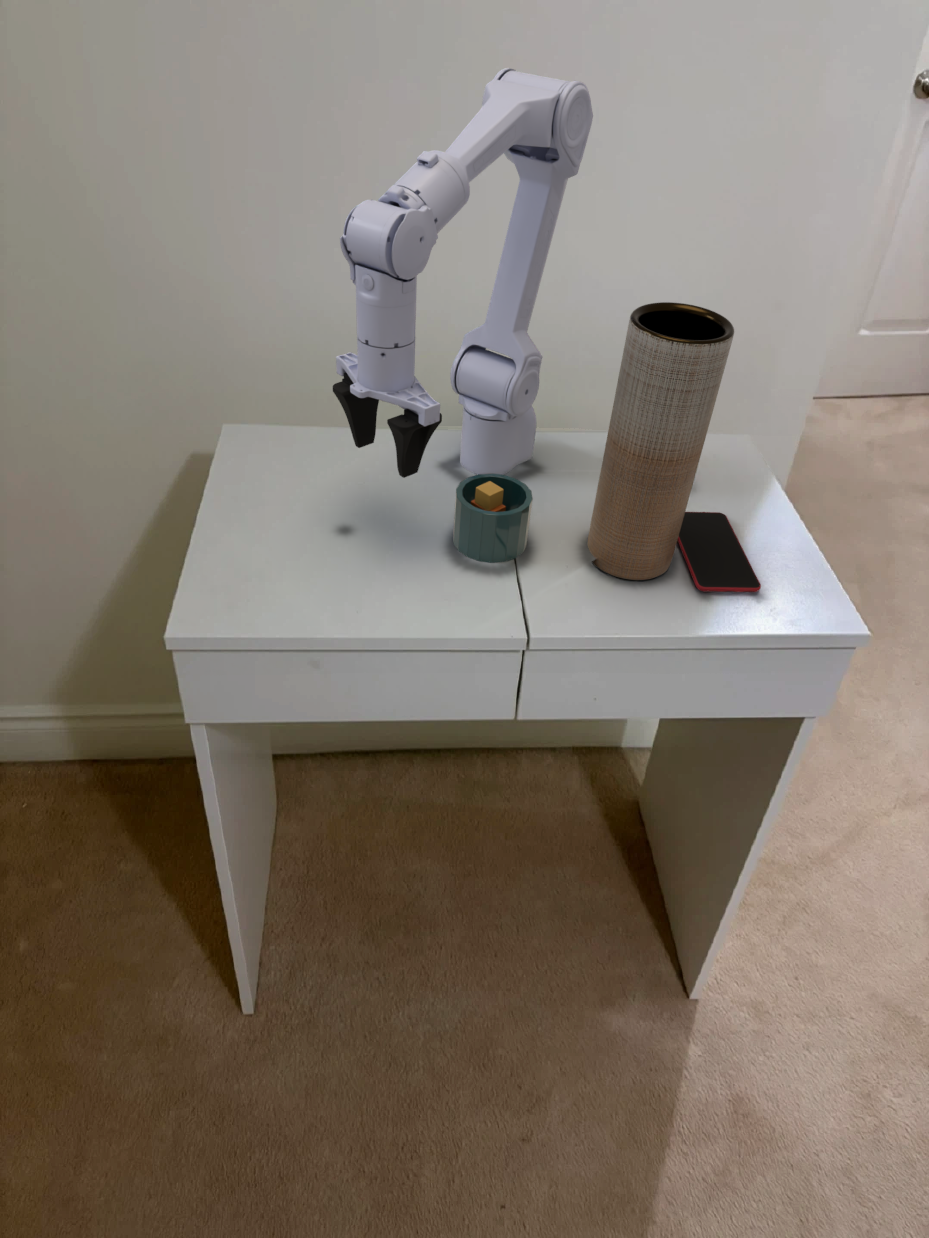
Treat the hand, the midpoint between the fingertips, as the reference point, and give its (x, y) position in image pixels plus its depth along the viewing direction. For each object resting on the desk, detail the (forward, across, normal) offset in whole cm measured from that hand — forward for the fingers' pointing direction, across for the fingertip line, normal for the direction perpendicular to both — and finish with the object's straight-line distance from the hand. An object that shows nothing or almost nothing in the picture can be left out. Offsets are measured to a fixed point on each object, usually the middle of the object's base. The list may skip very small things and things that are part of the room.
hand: (386, 458), depth 92 cm
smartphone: (+10, +26, +28) cm, 40 cm away
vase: (+11, +20, +20) cm, 30 cm away
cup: (+10, +9, +8) cm, 16 cm away
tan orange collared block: (+6, +9, +6) cm, 12 cm away
